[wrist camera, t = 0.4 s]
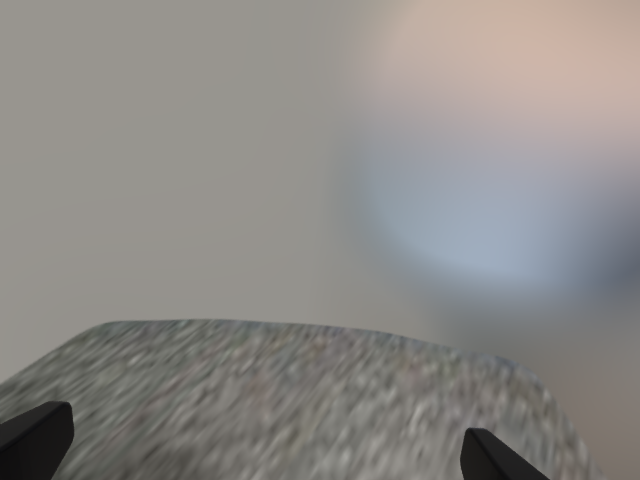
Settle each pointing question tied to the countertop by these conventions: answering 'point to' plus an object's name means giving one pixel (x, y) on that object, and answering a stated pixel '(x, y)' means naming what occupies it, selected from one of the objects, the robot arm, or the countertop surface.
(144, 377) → the countertop surface
